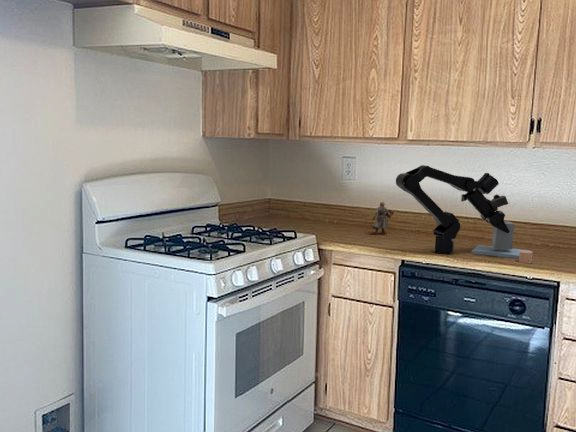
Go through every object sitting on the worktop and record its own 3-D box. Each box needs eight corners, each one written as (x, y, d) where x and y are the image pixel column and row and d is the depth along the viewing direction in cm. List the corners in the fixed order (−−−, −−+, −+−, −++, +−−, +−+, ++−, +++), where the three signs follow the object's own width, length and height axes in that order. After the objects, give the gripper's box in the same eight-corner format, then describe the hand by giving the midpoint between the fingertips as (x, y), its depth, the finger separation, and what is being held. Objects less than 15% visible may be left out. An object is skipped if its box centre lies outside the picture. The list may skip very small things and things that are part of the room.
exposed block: (518, 262, 206) (519, 252, 205) (520, 260, 209) (521, 250, 209) (530, 264, 204) (531, 253, 203) (531, 262, 207) (532, 251, 207)
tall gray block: (495, 248, 219) (497, 223, 217) (491, 245, 225) (493, 220, 224) (512, 249, 218) (514, 224, 216) (508, 246, 224) (510, 221, 223)
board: (472, 253, 220) (472, 250, 220) (478, 247, 232) (478, 244, 232) (526, 259, 211) (526, 256, 211) (530, 253, 223) (530, 250, 223)
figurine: (391, 232, 267) (392, 200, 265) (399, 234, 261) (401, 202, 258) (365, 233, 262) (366, 201, 260) (373, 235, 255) (374, 203, 253)
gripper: (501, 190, 210) (529, 220, 210) (490, 186, 228) (516, 214, 228) (478, 210, 212) (506, 240, 212) (469, 204, 230) (495, 232, 230)
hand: (506, 231), depth 220 cm, fingers closed on tall gray block, 6 cm apart
